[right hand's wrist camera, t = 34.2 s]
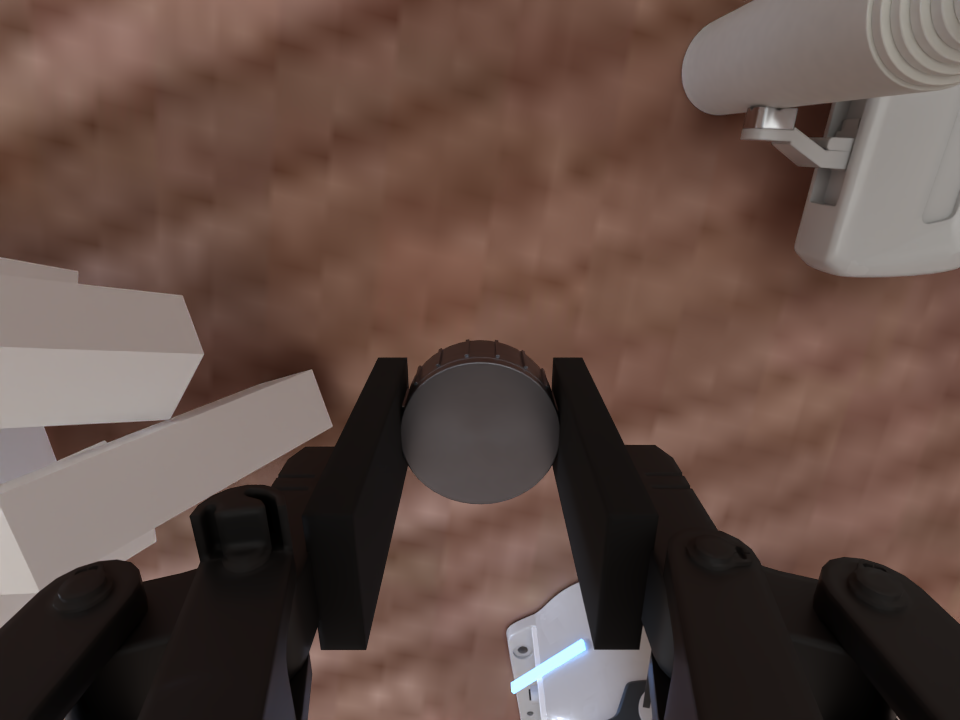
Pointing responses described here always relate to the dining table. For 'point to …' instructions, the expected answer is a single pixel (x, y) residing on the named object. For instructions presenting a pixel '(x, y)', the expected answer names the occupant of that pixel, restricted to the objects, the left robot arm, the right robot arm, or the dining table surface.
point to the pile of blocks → (110, 399)
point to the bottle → (822, 53)
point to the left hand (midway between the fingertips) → (764, 49)
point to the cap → (480, 423)
